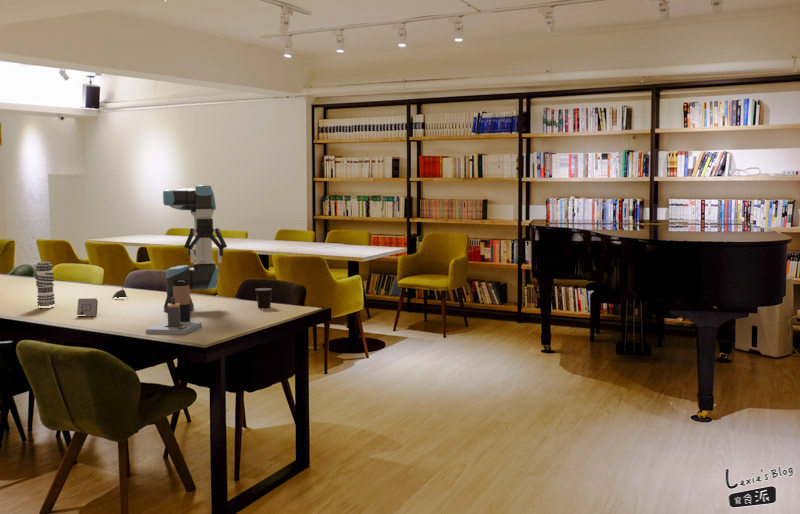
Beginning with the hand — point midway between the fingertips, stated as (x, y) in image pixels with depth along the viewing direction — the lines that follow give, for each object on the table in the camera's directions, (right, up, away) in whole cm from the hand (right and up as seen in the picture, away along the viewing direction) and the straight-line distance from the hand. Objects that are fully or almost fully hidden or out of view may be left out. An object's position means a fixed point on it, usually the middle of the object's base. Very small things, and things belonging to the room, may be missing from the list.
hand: (206, 262), depth 336 cm
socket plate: (-10, -30, -15) cm, 35 cm away
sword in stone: (-73, -22, +82) cm, 112 cm away
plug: (-10, -30, -15) cm, 35 cm away
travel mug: (-13, -29, +7) cm, 32 cm away
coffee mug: (+19, -24, +45) cm, 55 cm away
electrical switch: (-67, -27, +23) cm, 76 cm away
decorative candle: (-101, -25, +50) cm, 116 cm away
